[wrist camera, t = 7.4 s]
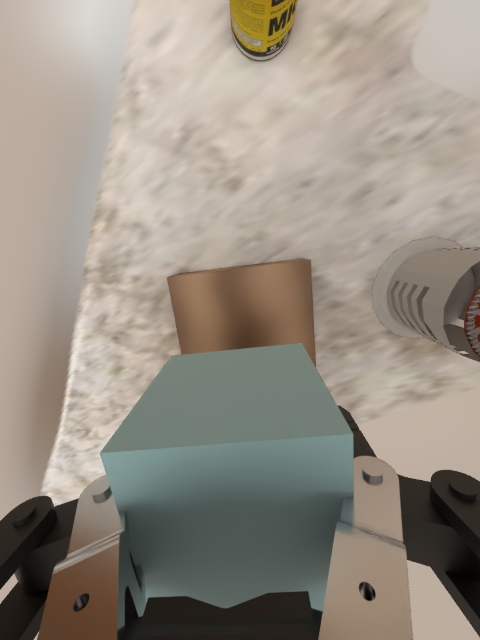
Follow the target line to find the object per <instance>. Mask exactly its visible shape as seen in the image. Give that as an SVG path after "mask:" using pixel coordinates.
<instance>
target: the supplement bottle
mask: <svg viewBox="0 0 480 640" xmlns="http://www.w3.org/2000/svg"><path fill="white" fill-rule="evenodd" d="M297 1H298V0H230V15H231V27H232V33H233V37H234V40H235V42H236V44H237V46H238V47H239V49H240V50H241V51H242V52H243V53H244V54H245V55H247V56H248V57H250V58H252V59H256V60H266V59H270V58H272V57H274V56H275V55H277V54H278V53H279V52H280V51H281V50H282V49H283V47H284V46H285V44H286V43H287V41H288V39H289V36H290V33H291V30H292V26H293V21H294V16H295V11H296V6H297Z"/></svg>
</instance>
